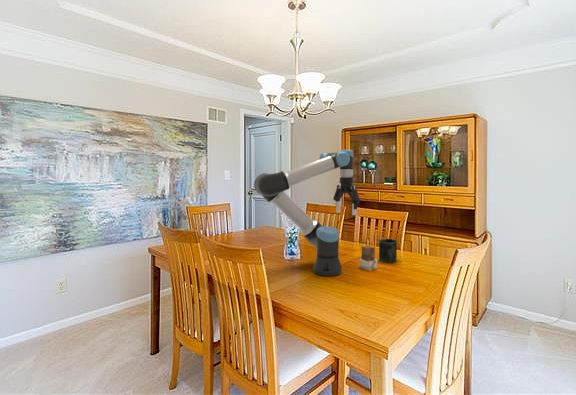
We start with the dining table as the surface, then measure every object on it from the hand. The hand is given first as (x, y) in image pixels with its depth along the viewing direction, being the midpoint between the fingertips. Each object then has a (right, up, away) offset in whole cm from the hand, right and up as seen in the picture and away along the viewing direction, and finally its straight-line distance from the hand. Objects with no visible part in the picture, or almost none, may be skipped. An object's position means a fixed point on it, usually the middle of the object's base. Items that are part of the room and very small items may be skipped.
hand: (346, 213), depth 187 cm
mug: (+27, -28, +7) cm, 39 cm away
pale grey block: (+11, -30, -8) cm, 33 cm away
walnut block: (+10, -25, -9) cm, 28 cm away
